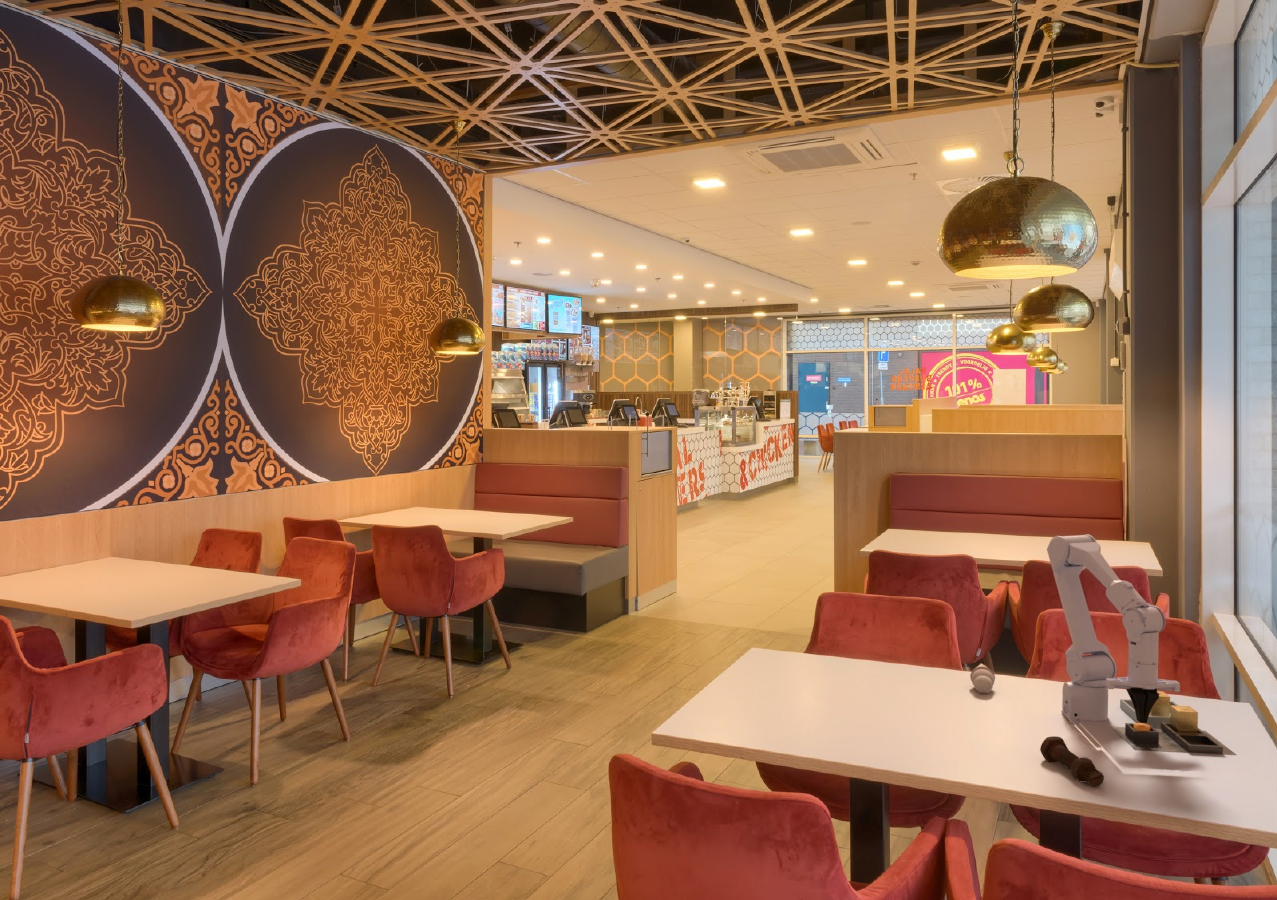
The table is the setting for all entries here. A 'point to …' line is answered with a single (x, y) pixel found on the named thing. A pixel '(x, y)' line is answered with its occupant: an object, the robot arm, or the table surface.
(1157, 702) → the billet
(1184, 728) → the billet
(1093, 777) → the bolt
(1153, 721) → the tote
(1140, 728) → the button
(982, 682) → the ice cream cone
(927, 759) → the table surface
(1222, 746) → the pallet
